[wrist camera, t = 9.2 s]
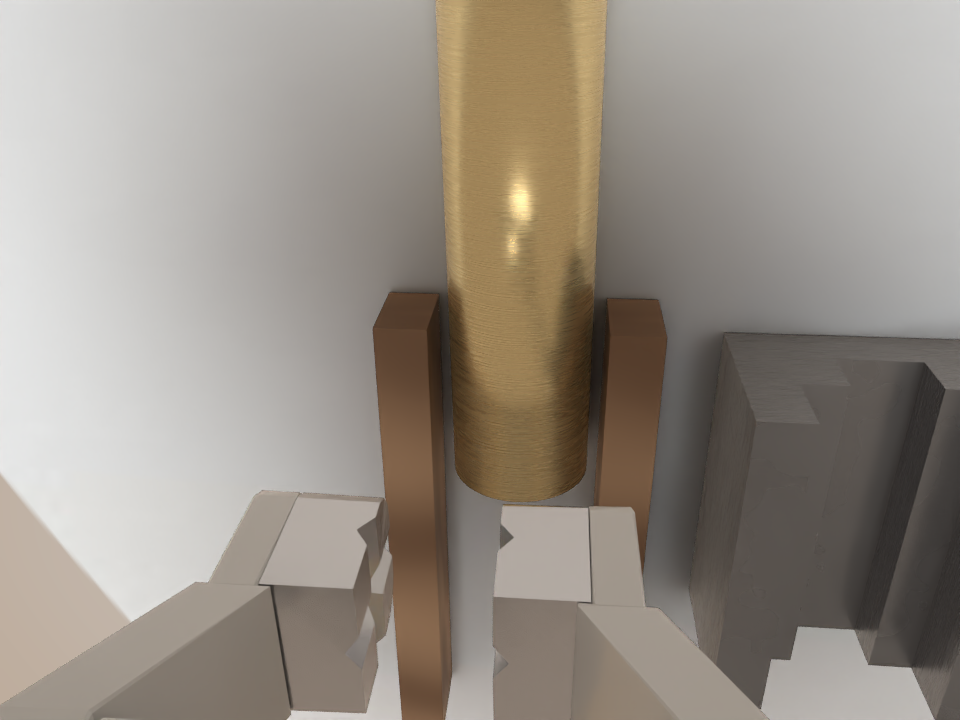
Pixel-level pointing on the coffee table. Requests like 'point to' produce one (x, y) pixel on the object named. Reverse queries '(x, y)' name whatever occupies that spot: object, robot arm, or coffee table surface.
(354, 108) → the coffee table surface
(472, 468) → the brass rod
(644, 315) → the copper channel
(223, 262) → the coffee table surface
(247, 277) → the coffee table surface
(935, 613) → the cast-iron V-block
